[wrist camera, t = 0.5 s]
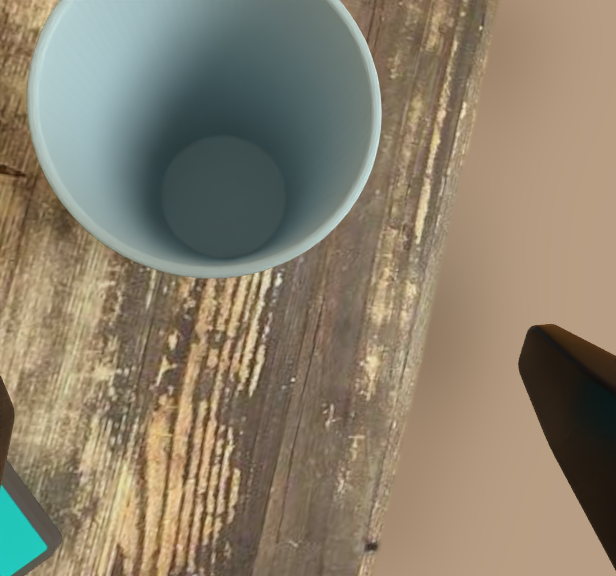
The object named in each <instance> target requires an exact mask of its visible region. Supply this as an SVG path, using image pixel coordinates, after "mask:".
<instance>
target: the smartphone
mask: <svg viewBox="0 0 616 576" xmlns="http://www.w3.org/2000/svg"><path fill="white" fill-rule="evenodd" d="M61 542H62V535H61V533H60V532H59V530H58V529H57V528H56V526H55V525H54V524H53V522H52V521H51V520H50V518H49V517H48V515H47V514H46V513H45V511H44V510H43V509H42V507H41V506H40V505H39V503H38V502H37V500H36V499H35V498H34V496H33V495H32V494H31V492H30V491H29V490H28V488H27V487H26V486H25V484H24V483H23V481H22V480H21V479H20V477H19V476H18V475H17V473H16V472H15V471H14V469H13V468H12V467H11V465H10V464H9V462H8V461H7V460H6V464H5V469H4V474H3V479H2V484H1V489H0V576H24V575H26V574H27V573H28V572H30V571H31V570H33V569H34V568H35V567H37V566H38V565H39V564H41V563H42V562H43V561H45V560H46V559H48V558H49V557H50V556H51V555H53V553H54V552H55V551H56V549H57V548H58V547H59V545H60V544H61Z"/></svg>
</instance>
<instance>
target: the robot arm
mask: <svg viewBox="0 0 616 576" xmlns="http://www.w3.org/2000/svg"><path fill="white" fill-rule="evenodd" d="M518 365H519V372H520V375H521V377H522V380H523V383H524V385H525V387H526V390H527V393H528V395H529V397H530V400H531V402H532V405H533V407H534V410H535V412H536V415H537V417H538V420H539V422H540V425H541V427H542V429H543V432H544V435H545V437H546V439H547V441H548V444H549V446H550V448H551V450H552V452H553V454H554V456H555V458H556V460H557V462H558V463H559V465H560V467H561V469H562V471H563V473H564V475H565V477H566V478H567V480H568V482H569V484H570V486H571V488H572V490H573V492H574V493H575V495H576V497H577V499H578V500H579V503H580V505H581V506H582V508H583V510H584V512H585V514H586V516H587V518H588V520H589V522H590V523H591V525H592V527H593V529H594V531H595V533H596V534H597V536H598V538H599V540H600V542H601V544H602V546H603V548H604V550H605V551H606V553H607V555H608V557H609V559H610V561H611V563H612V565H613V566H614V568H615V570H616V356H615V355H613V354H611V353H609V352H607V351H605V350H603V349H601V348H599V347H597V346H596V345H594V344H592V343H590V342H588V341H586V340H584V339H582V338H580V337H578V336H576V335H574V334H572V333H570V332H568V331H566V330H564V329H562V328H561V327H559V326H557V325H554V324H546V325H535V326H532V327H530V329H529V330H528V332H527V334H526V338H525V341H524V344H523V347H522V351H521V354H520V358H519V363H518ZM13 424H14V408H13V404H12V402H11V400H10V397H9V395H8V392H7V390H6V387H5V385H4V382H3V380H2V378H1V376H0V489H1V484H2V479H3V474H4V469H5V464H6V459H7V454H8V449H9V444H10V439H11V434H12V429H13Z"/></svg>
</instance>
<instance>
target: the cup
mask: <svg viewBox="0 0 616 576" xmlns="http://www.w3.org/2000/svg"><path fill="white" fill-rule="evenodd" d="M381 114H382V113H381V96H380V88H379V82H378V77H377V72H376V69H375V66H374V62H373V59H372V56H371V53H370V51H369V48H368V45H367V43H366V41H365V39H364V37H363V35H362V33H361V31H360V30H359V28H358V26H357V24H356V23H355V21H354V19H353V18H352V16H351V15H350V13H349V12H348V11H347V9H346V8H345V7H344V5H343V4H342V3H341V2H340V1H339V0H60V1H59V2H58V3H57V5H56V6H55V8H54V9H53V11H52V12H51V14H50V15H49V17H48V19H47V21H46V23H45V25H44V27H43V29H42V31H41V33H40V35H39V38H38V41H37V43H36V46H35V49H34V52H33V56H32V60H31V64H30V69H29V76H28V82H27V115H28V123H29V129H30V134H31V138H32V143H33V147H34V150H35V153H36V156H37V159H38V162H39V164H40V166H41V169H42V171H43V173H44V175H45V177H46V179H47V181H48V183H49V184H50V186H51V188H52V189H53V191H54V193H55V194H56V196H57V197H58V198H59V200H60V201H61V203H62V204H63V205H64V207H65V208H66V209H67V210H68V211H69V213H70V214H71V215H72V216H73V217H74V218H75V219H76V220H77V221H78V223H79V224H80V225H81V226H82V227H83V228H84V229H85V230H86V231H88V232H89V233H90V234H91V235H92V236H94V237H95V238H96V239H97V240H99V241H100V242H101V243H103V244H104V245H106V246H107V247H109V248H110V249H112V250H114V251H115V252H117V253H119V254H120V255H122V256H124V257H126V258H128V259H130V260H132V261H134V262H137V263H139V264H141V265H144V266H146V267H149V268H151V269H155V270H158V271H162V272H166V273H169V274H174V275H179V276H185V277H193V278H230V277H238V276H244V275H249V274H253V273H257V272H261V271H264V270H267V269H270V268H273V267H275V266H278V265H280V264H283V263H285V262H287V261H289V260H291V259H293V258H295V257H297V256H299V255H300V254H302V253H304V252H305V251H307V250H308V249H310V248H311V247H313V246H314V245H315V244H317V243H318V242H319V241H321V240H322V239H323V238H324V237H325V236H326V235H327V234H329V233H330V232H331V231H332V230H333V229H334V228H335V227H336V226H337V225H338V224H339V222H340V221H341V220H342V219H343V218H344V216H345V215H346V214H347V213H348V212H349V210H350V209H351V207H352V206H353V204H354V203H355V201H356V200H357V199H358V197H359V195H360V193H361V192H362V190H363V188H364V186H365V184H366V182H367V180H368V177H369V175H370V172H371V169H372V167H373V164H374V160H375V157H376V153H377V148H378V144H379V137H380V131H381Z"/></svg>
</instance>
